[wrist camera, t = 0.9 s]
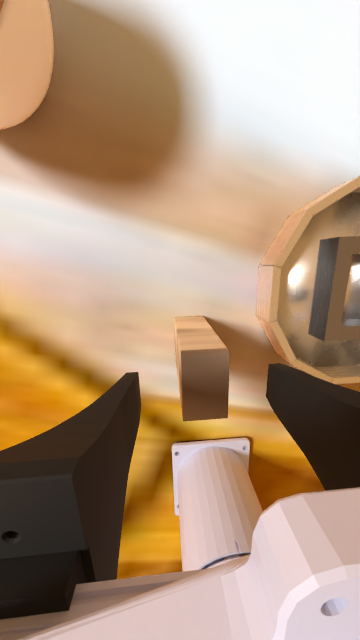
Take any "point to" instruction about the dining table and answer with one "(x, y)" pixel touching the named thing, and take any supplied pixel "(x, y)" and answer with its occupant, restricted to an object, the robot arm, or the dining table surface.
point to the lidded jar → (24, 58)
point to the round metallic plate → (316, 287)
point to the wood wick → (201, 369)
